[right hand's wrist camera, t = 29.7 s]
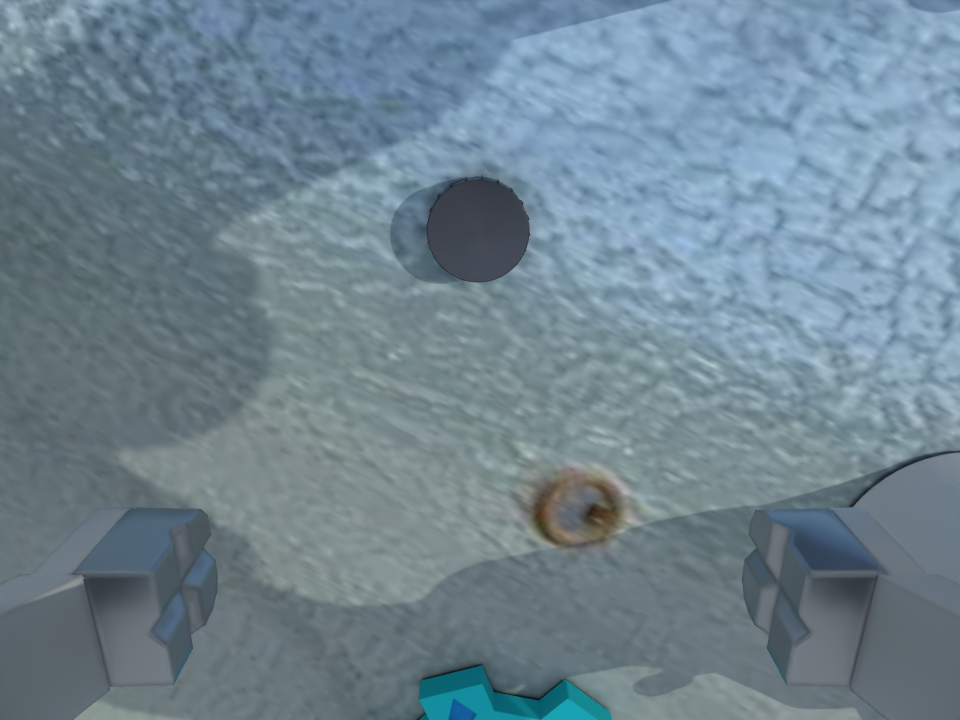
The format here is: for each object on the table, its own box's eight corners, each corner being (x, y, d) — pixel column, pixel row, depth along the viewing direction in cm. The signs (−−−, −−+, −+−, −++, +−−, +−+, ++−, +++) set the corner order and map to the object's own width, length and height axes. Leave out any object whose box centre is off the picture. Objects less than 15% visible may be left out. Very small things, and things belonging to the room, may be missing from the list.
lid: (433, 280, 39) (431, 287, 37) (423, 179, 37) (420, 183, 35) (530, 272, 39) (533, 279, 37) (525, 171, 37) (527, 174, 35)
